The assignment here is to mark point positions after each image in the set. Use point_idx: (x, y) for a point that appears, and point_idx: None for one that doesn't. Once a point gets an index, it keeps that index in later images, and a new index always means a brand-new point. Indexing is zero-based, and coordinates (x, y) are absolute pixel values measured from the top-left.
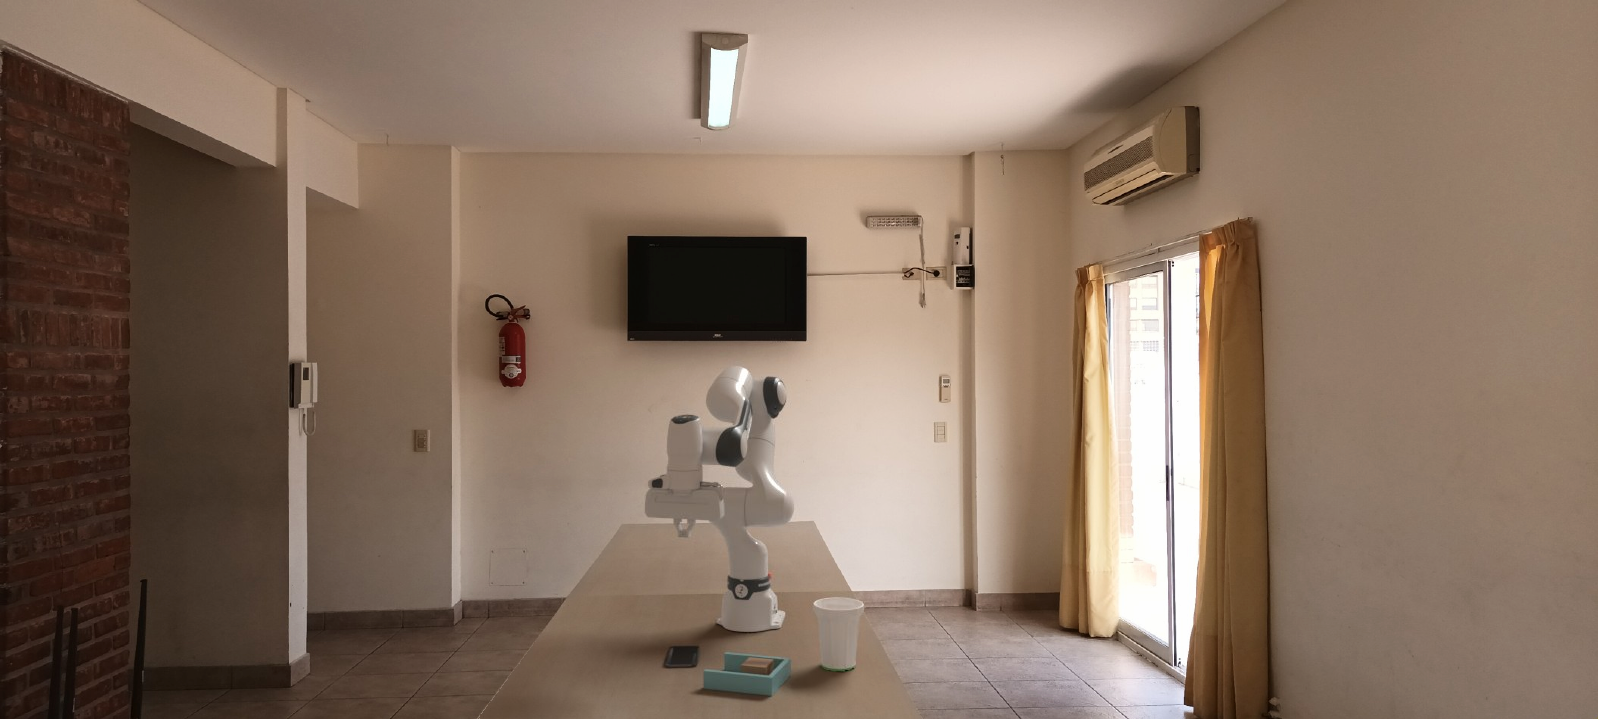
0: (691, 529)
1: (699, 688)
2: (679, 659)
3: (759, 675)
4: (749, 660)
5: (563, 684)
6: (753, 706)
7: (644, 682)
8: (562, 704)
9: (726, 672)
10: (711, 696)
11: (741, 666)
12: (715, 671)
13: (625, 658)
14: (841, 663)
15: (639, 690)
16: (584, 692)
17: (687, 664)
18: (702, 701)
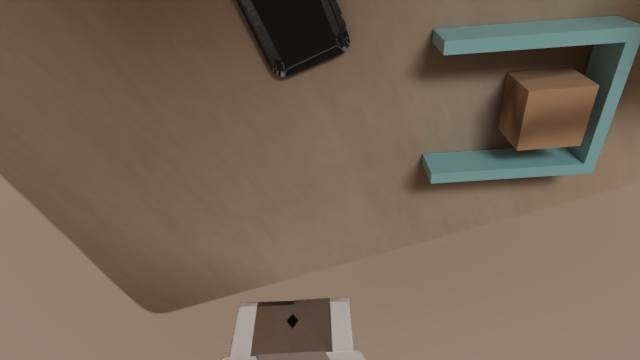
0: (359, 357)
1: (413, 165)
2: (288, 21)
3: (562, 169)
4: (533, 114)
5: (155, 227)
6: (539, 206)
7: (290, 172)
8: (225, 287)
9: (484, 176)
10: (450, 191)
11: (516, 148)
12: (458, 178)
13: (139, 48)
14: None
15: (305, 208)
16: (219, 243)
17: (331, 57)
18: (441, 214)
